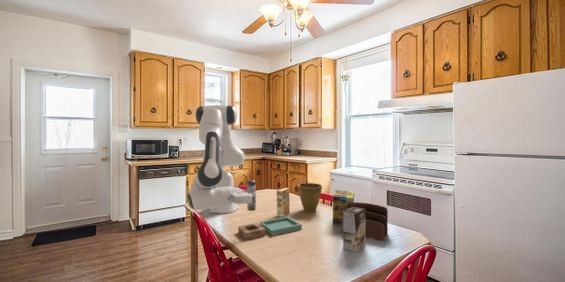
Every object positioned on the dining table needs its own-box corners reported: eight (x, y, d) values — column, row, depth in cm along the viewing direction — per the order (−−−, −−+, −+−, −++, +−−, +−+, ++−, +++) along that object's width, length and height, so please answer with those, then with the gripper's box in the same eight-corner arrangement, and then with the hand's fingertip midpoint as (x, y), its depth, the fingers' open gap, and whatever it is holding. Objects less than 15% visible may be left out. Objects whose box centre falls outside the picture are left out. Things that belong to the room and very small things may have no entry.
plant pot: (295, 212, 159) (295, 186, 159) (301, 206, 174) (301, 182, 173) (320, 215, 155) (320, 188, 154) (323, 208, 169) (323, 183, 169)
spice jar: (246, 209, 127) (246, 180, 126) (253, 207, 129) (253, 179, 128) (249, 211, 123) (249, 182, 123) (257, 210, 125) (256, 181, 125)
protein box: (332, 225, 138) (332, 196, 137) (335, 216, 153) (335, 190, 152) (352, 227, 135) (353, 197, 134) (353, 218, 150) (354, 191, 149)
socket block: (238, 232, 128) (238, 226, 128) (256, 228, 133) (256, 222, 133) (245, 239, 119) (245, 233, 119) (265, 235, 124) (265, 229, 124)
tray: (259, 226, 136) (259, 221, 136) (287, 221, 144) (287, 216, 144) (272, 235, 124) (272, 230, 124) (301, 229, 132) (301, 224, 132)
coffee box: (357, 252, 107) (357, 213, 106) (342, 248, 111) (342, 210, 110) (365, 245, 114) (365, 208, 113) (351, 241, 118) (352, 206, 117)
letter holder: (347, 226, 136) (347, 200, 135) (387, 234, 126) (388, 205, 125) (341, 233, 127) (341, 204, 127) (384, 241, 117) (384, 211, 117)
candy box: (282, 217, 151) (282, 191, 150) (276, 216, 153) (276, 190, 152) (289, 213, 159) (289, 188, 158) (283, 212, 161) (283, 187, 160)
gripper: (232, 194, 110) (262, 190, 117) (219, 185, 128) (245, 182, 135) (232, 209, 110) (262, 204, 117) (219, 198, 128) (245, 194, 135)
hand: (253, 192), depth 126 cm, fingers closed on spice jar, 4 cm apart
